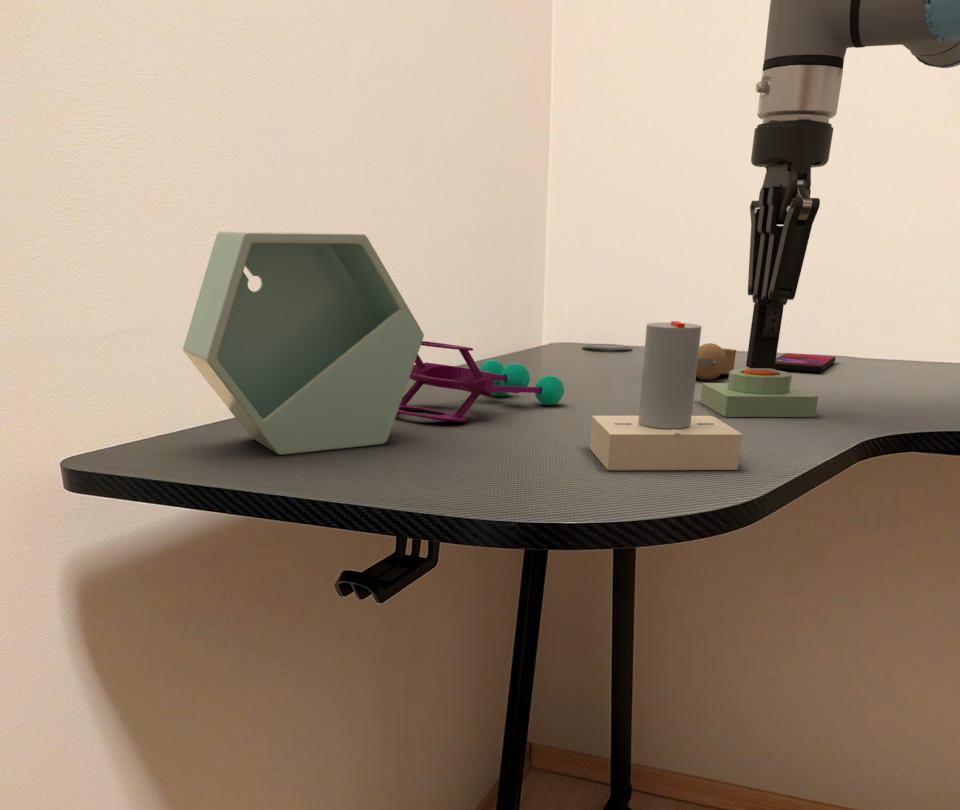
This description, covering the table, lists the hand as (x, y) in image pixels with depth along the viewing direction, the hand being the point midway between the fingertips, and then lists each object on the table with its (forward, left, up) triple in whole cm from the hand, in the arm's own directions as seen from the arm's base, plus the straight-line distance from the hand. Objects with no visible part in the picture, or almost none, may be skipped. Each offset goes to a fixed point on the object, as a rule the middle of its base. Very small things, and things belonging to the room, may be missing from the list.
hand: (760, 367), depth 100 cm
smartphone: (-20, -36, -5) cm, 41 cm away
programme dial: (+17, +24, -2) cm, 29 cm away
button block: (0, 0, -5) cm, 5 cm away
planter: (+47, +17, -5) cm, 51 cm away
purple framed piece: (+32, 0, -5) cm, 32 cm away
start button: (0, 0, -2) cm, 2 cm away
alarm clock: (0, -26, -5) cm, 26 cm away
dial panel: (+17, +24, -5) cm, 30 cm away
